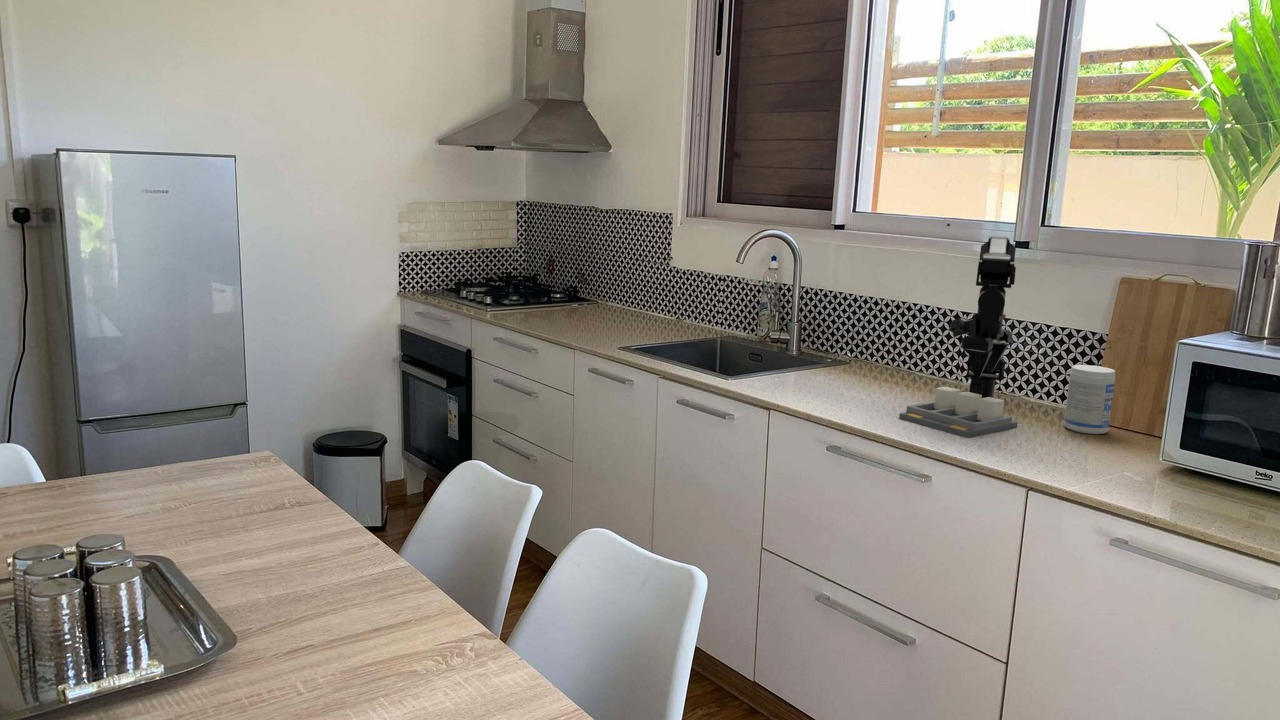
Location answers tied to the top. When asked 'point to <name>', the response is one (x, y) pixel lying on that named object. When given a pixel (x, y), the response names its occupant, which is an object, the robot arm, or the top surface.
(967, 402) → the light grey block
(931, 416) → the grey compartment tray
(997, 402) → the light grey block
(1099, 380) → the supplement tub
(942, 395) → the beige grey rectangular block
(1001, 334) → the robot arm
